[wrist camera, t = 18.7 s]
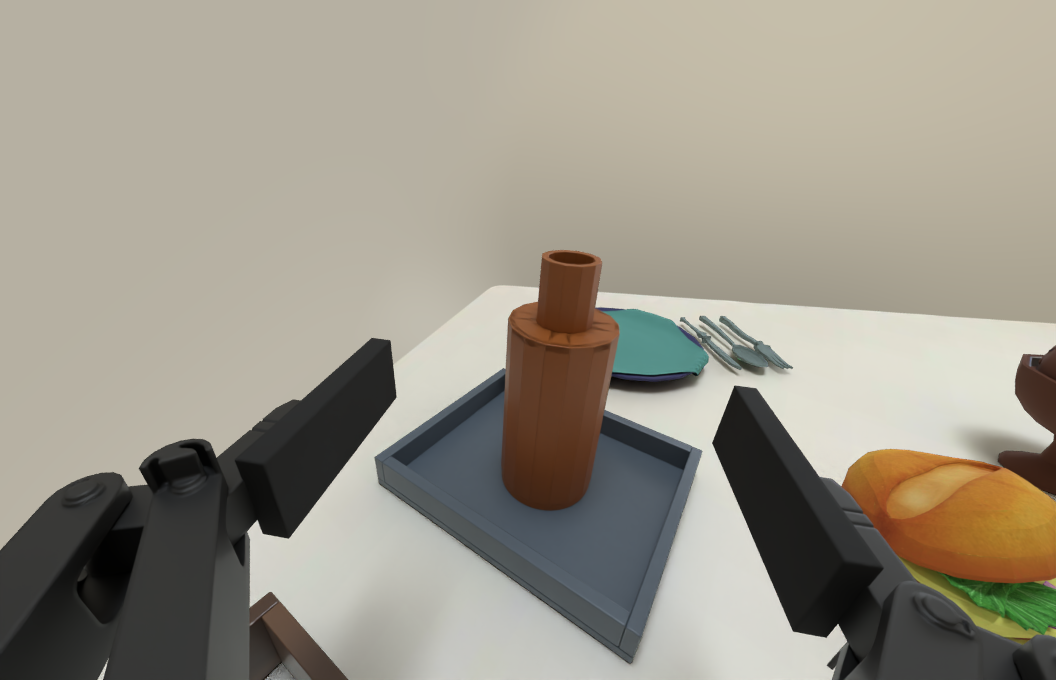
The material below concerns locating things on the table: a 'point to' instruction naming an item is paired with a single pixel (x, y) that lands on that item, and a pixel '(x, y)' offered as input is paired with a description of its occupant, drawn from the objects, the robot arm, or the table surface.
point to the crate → (284, 645)
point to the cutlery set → (675, 347)
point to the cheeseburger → (966, 534)
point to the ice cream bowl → (1036, 419)
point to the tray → (553, 511)
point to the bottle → (556, 384)
